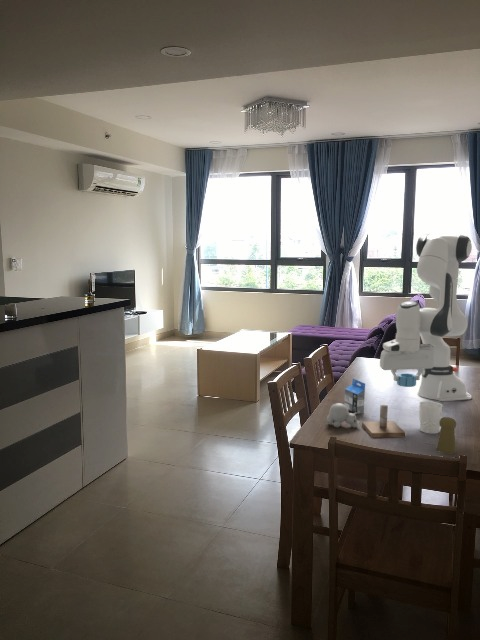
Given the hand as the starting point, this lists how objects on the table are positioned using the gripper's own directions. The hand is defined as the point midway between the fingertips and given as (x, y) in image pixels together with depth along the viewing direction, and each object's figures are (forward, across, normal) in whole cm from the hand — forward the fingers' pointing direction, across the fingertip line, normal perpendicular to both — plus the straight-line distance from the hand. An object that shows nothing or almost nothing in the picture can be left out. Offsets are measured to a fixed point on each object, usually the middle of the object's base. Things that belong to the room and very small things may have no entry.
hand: (406, 380), depth 205 cm
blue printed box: (+16, +17, -12) cm, 26 cm away
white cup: (+16, -4, +12) cm, 20 cm away
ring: (+2, 0, 0) cm, 2 cm away
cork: (+16, -2, +30) cm, 34 cm away
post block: (+15, +13, +12) cm, 23 cm away
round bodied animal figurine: (+15, +26, +6) cm, 31 cm away
